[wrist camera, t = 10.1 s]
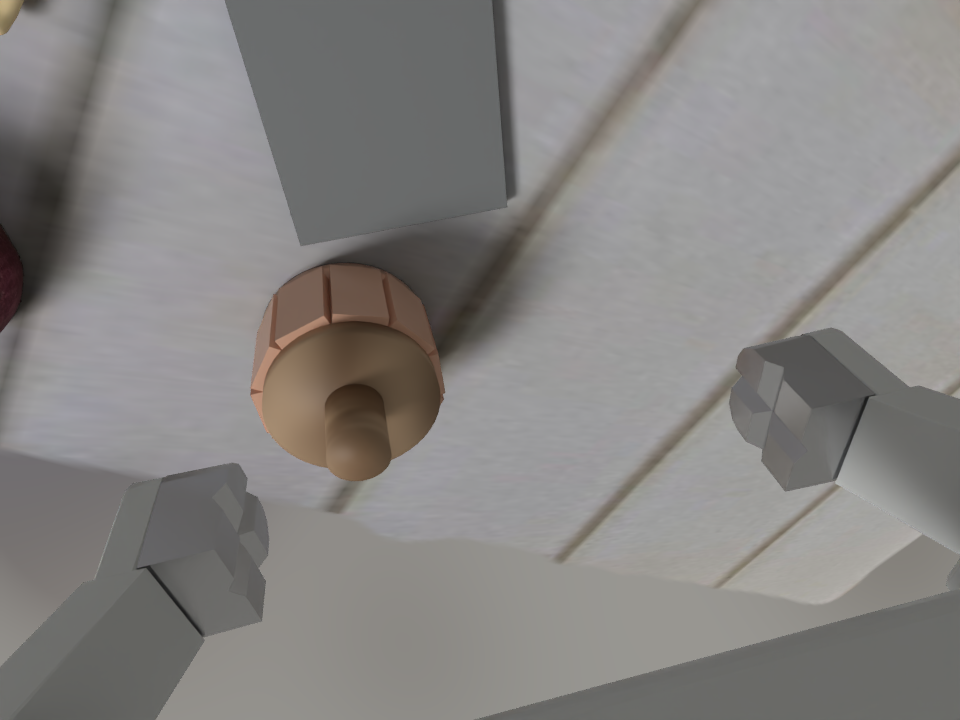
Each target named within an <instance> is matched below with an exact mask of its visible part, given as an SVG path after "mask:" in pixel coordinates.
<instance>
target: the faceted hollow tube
mask: <svg viewBox="0 0 960 720" xmlns="http://www.w3.org/2000/svg"><path fill="white" fill-rule="evenodd" d="M348 321H362V322H372V323H377V324H382V325H385V326H388V327H392V328H394V329H396V330H398V331H401V332H403V333H404V334H406V335H408V336H409V337H411V338H412V339H413V340H415V341H416V342H417V343H418V344H419V345H420V346H421V347H422V348H423V349H424V350H425V351H426V353H427V354H428V356H429V357H430V359H431V361H432V363H433V366H434V368H435V372H436V376H437V379H438V383H439V386H440V394H441V399H440V405H441V403H442V401H443V400H444V398H443V394H444V393H445V389H444V383H443V377H442V372H441V366H440V360H439V355H438V351H437V348H436V344H435V341H434V338H433V334H432V331H431V327H430V324H429V321H428V317H427V314H426V310H425V307H424V305H422V303H421V299H420V298H418V297H417V296H416V295H415V294H414V293H413V292H412V290H411V289H410V288H409V287H408V286H407V285H406V284H405V283H403V282H402V281H401V280H400V279H398V278H397V277H395V276H394V275H392V274H390V273H388V272H386V271H384V270H381V269H378V268H376V267H373V266H368V265H364V264H357V263H334V264H327V265H323V266H319V267H315V268H312V269H310V270H307V271H305V272H303V273H301V274H299V275H297V276H295V277H294V278H292V279H291V280H290V281H288V282H287V283H285V284H284V285H283V286H282V287H281V288H279V290H278V291H277V292H276V294H274V295H273V297H272V299H271V301H270V302H269V304H268V306H267V308H266V310H265V313H264V316H263V320H262V322H261V325H260V327H259V329H258V332H257V338H256V346H255V355H254V363H253V371H252V379H251V387H250V388H251V394H250V395H251V397H252V400H253V402H254V404H255V407H256V409H257V411H258V413H259V416H260V418H261V420H262V422H263V425H264V427H265V429H266V432H267V433H269V431H268V429H267V427H266V424H265V422H264V419H263V413H262V397H263V387H264V381H265V377H266V374H267V372H268V369H269V367H270V365H271V363H272V362H273V360H274V359H275V357H276V356H277V355H278V354H279V352H280V351H281V350H282V349H283V348H284V347H286V346H287V345H288V344H289V343H290V342H292V341H293V340H294V339H296V338H297V337H299V336H301V335H302V334H304V333H306V332H308V331H310V330H313V329H316V328H318V327H321V326H325V325H328V324H332V323H339V322H348ZM272 438H273V437H272ZM273 439H274V438H273Z"/></svg>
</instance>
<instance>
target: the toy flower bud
mask: <svg viewBox="0 0 960 720" xmlns="http://www.w3.org/2000/svg"><path fill="white" fill-rule="evenodd" d="M23 2H24V0H0V35H3V34H5V33H7V32H8V31H9V29H10V27H11V26H12V24H13V23H14V21H15V19H16V18H17V16H18V14H19V11H20V9H21V6H22V4H23Z"/></svg>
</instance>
